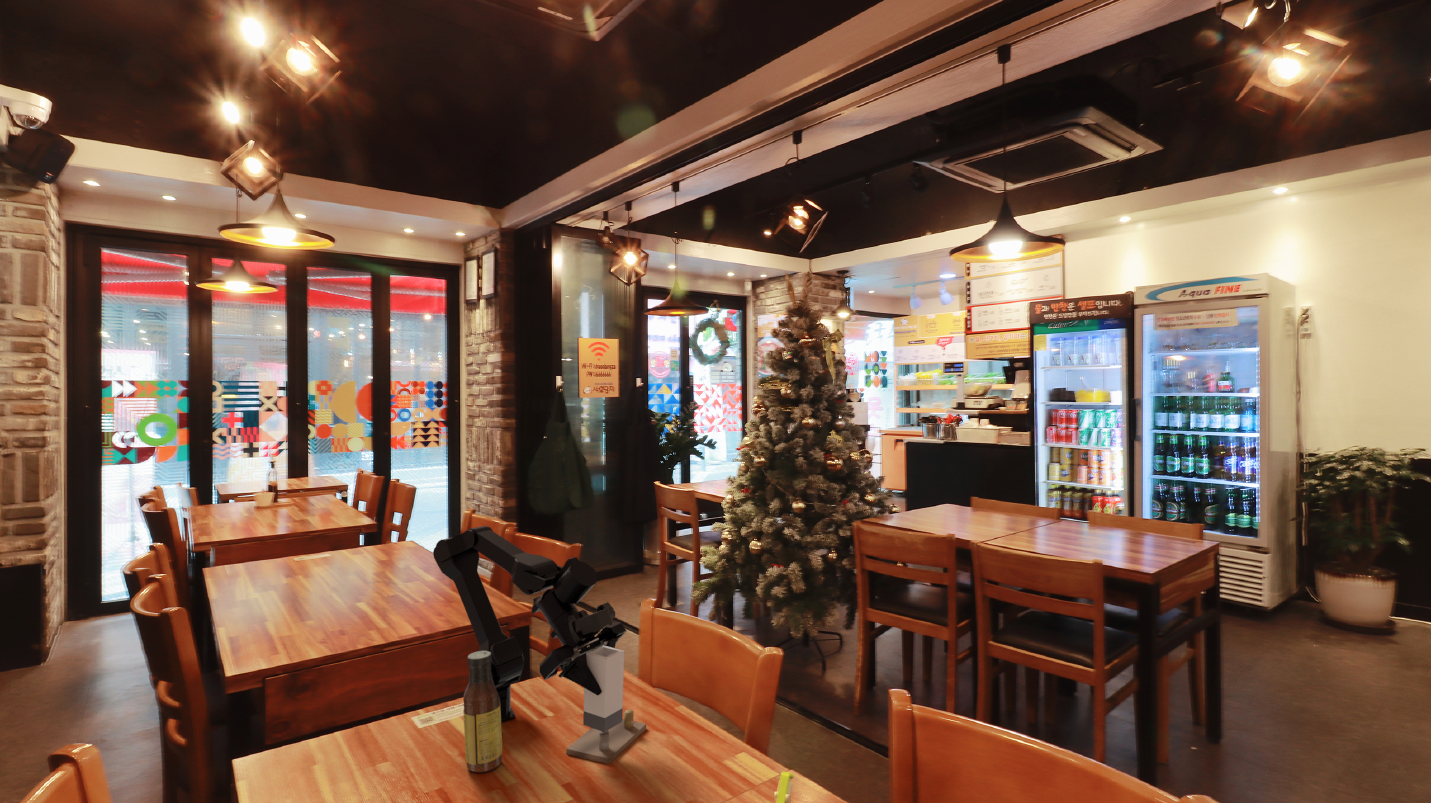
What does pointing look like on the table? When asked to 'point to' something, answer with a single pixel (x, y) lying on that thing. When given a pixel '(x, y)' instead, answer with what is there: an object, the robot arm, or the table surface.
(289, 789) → the table surface
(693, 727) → the table surface
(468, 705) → the sauce bottle
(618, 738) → the pin board
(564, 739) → the table surface
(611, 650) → the grey sleeve
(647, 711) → the table surface
